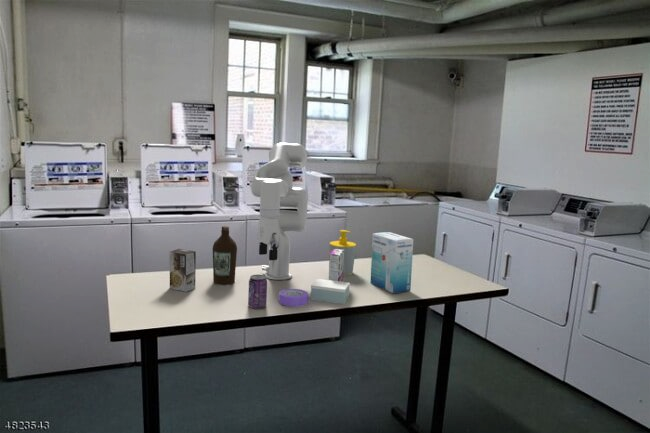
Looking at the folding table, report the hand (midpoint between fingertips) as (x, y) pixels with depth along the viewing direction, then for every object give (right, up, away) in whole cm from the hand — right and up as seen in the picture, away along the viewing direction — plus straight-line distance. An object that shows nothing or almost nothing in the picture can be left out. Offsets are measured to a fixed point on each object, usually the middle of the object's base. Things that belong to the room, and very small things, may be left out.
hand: (267, 257), depth 197 cm
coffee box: (-38, -15, +19) cm, 45 cm away
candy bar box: (+26, -16, +32) cm, 44 cm away
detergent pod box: (+24, -18, +17) cm, 35 cm away
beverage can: (-4, -20, +2) cm, 20 cm away
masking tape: (+9, -19, +10) cm, 23 cm away
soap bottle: (+30, -12, +56) cm, 65 cm away
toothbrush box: (+51, -17, +36) cm, 65 cm away
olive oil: (-23, -14, +31) cm, 41 cm away
